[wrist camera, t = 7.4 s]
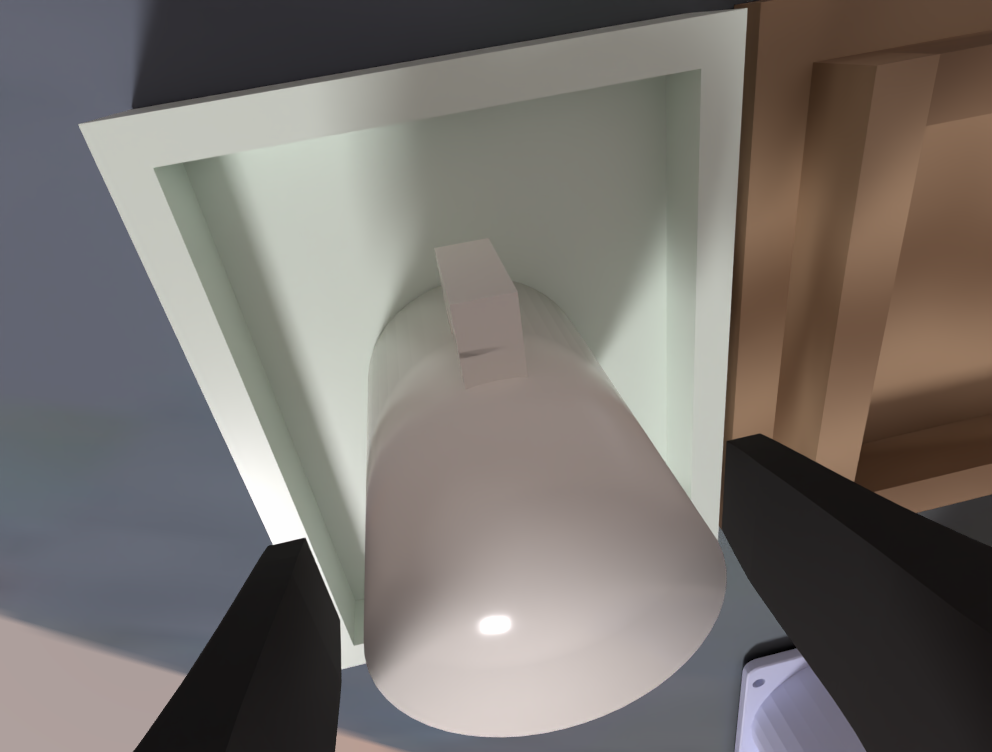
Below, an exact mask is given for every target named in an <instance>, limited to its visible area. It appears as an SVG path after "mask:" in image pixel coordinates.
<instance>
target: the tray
mask: <svg viewBox="0 0 992 752" xmlns="http://www.w3.org/2000/svg"><path fill="white" fill-rule="evenodd" d="M747 9H748V8H741V9H729V10H718V11H706V12H694V13H685V14H679V15H673V16H668V17H662V18H656V19H650V20H645V21H639V22H633V23H627V24H622V25H616V26H610V27H604V28H599V29H593V30H587V31H581V32H575V33H570V34H564V35H558V36H552V37H547V38H541V39H535V40H529V41H524V42H518V43H512V44H506V45H500V46H495V47H489V48H483V49H477V50H472V51H466V52H460V53H454V54H449V55H443V56H437V57H431V58H425V59H420V60H414V61H408V62H402V63H397V64H391V65H385V66H379V67H374V68H368V69H362V70H356V71H350V72H345V73H339V74H333V75H327V76H322V77H316V78H310V79H304V80H299V81H293V82H287V83H281V84H276V85H270V86H264V87H258V88H252V89H247V90H241V91H235V92H229V93H224V94H218V95H212V96H206V97H201V98H195V99H189V100H183V101H177V102H172V103H166V104H160V105H154V106H149V107H143V108H137V109H131V110H127V111H124V112H120V113H117V114H113V115H110V116H106V117H103V118H99V119H96V120H92V121H89V122H85V123H82V124H78V125H79V127H80V129H81V132H82V134H83V136H84V138H85V140H86V142H87V145H88V147H89V149H90V151H91V153H92V155H93V157H94V160H95V162H96V164H97V166H98V168H99V170H100V173H101V175H102V177H103V179H104V181H105V183H106V185H107V188H108V190H109V192H110V194H111V196H112V198H113V201H114V203H115V205H116V207H117V209H118V211H119V213H120V216H121V218H122V220H123V222H124V224H125V226H126V229H127V231H128V233H129V235H130V237H131V239H132V241H133V244H134V246H135V248H136V250H137V252H138V254H139V257H140V259H141V261H142V263H143V265H144V267H145V269H146V272H147V274H148V276H149V278H150V280H151V282H152V285H153V287H154V289H155V291H156V293H157V295H158V297H159V300H160V302H161V304H162V306H163V308H164V310H165V312H166V315H167V317H168V319H169V321H170V323H171V325H172V328H173V330H174V332H175V334H176V336H177V338H178V340H179V343H180V345H181V347H182V349H183V351H184V353H185V356H186V358H187V360H188V362H189V364H190V366H191V368H192V371H193V373H194V375H195V377H196V379H197V381H198V384H199V386H200V388H201V390H202V392H203V394H204V396H205V399H206V401H207V403H208V405H209V407H210V409H211V412H212V414H213V416H214V418H215V420H216V422H217V424H218V427H219V429H220V431H221V433H222V435H223V437H224V440H225V442H226V444H227V446H228V448H229V450H230V452H231V455H232V457H233V459H234V461H235V463H236V465H237V468H238V470H239V472H240V474H241V476H242V478H243V480H244V483H245V485H246V487H247V489H248V491H249V493H250V496H251V498H252V500H253V502H254V504H255V506H256V508H257V511H258V513H259V515H260V517H261V519H262V521H263V524H264V526H265V528H266V530H267V532H268V534H269V536H270V539H271V541H272V543H273V545H275V544H279V543H283V542H288V541H292V540H296V539H301V538H306V540H307V542H308V545H309V547H310V549H311V552H312V554H313V557H314V559H315V561H316V564H317V566H318V568H319V571H320V573H321V576H322V578H323V580H324V583H325V585H326V588H327V590H328V592H329V595H330V597H331V599H332V602H333V604H334V607H335V609H336V611H337V614H338V616H339V618H340V628H341V669H345V668H349V667H353V666H357V665H361V664H365V663H366V660H365V655H364V640H363V639H364V580H365V521H366V462H367V403H368V372H369V364H370V360H371V356H372V353H373V350H374V348H375V345H376V343H377V341H378V339H379V337H380V335H381V334H382V332H383V330H384V329H385V327H386V326H387V325H388V323H389V322H390V321H391V320H392V318H393V317H394V316H395V315H396V314H397V313H398V312H399V311H400V310H401V309H402V308H404V307H405V306H406V305H407V304H408V303H410V302H411V301H413V300H414V299H415V298H417V297H418V296H420V295H422V294H424V293H426V292H427V291H429V290H431V289H433V288H436V287H439V286H441V281H440V276H439V271H438V266H437V260H436V255H435V250H434V248H437V247H443V246H448V245H454V244H459V243H464V242H470V241H475V240H481V239H486V238H489V240H490V242H491V243H492V245H493V247H494V249H495V251H496V253H497V254H498V256H499V258H500V260H501V262H502V264H503V265H504V267H505V269H506V271H507V273H508V275H509V277H510V278H511V280H512V281H515V282H518V283H522V284H524V285H527V286H529V287H531V288H534V289H536V290H537V291H539V292H541V293H543V294H544V295H546V296H547V297H549V298H550V299H551V300H552V301H554V302H555V303H556V304H557V305H558V306H559V307H560V308H561V309H562V310H563V311H564V312H565V313H566V315H567V316H568V318H569V319H570V321H571V322H572V324H573V325H574V327H575V328H576V330H577V331H578V333H579V334H580V336H581V337H582V339H583V340H584V342H585V343H586V345H587V346H588V348H589V349H590V351H591V352H592V354H593V355H594V357H595V358H596V360H597V361H598V363H599V364H600V366H601V367H602V369H603V370H604V372H605V373H606V375H607V376H608V377H609V379H610V380H611V382H612V383H613V385H614V386H615V388H616V389H617V391H618V392H619V394H620V395H621V397H622V398H623V400H624V401H625V403H626V404H627V406H628V407H629V409H630V410H631V412H632V413H633V415H634V416H635V418H636V419H637V421H638V422H639V424H640V425H641V427H642V428H643V430H644V431H645V433H646V434H647V436H648V437H649V439H650V440H651V442H652V443H653V445H654V446H655V448H656V449H657V451H658V452H659V454H660V455H661V457H662V458H663V460H664V461H665V463H666V464H667V466H668V467H669V469H670V470H671V472H672V473H673V475H674V476H675V478H676V479H677V480H678V482H679V483H680V485H681V486H682V488H683V489H684V491H685V492H686V494H687V495H688V497H689V498H690V500H691V501H692V503H693V504H694V506H695V507H696V509H697V510H698V512H699V513H700V515H701V516H702V518H703V519H704V521H705V522H706V524H707V525H708V527H709V528H710V530H711V531H712V533H713V534H714V536H715V537H716V539H717V540H718V527H719V509H720V491H721V473H722V456H723V438H724V420H725V402H726V384H727V366H728V348H729V331H730V313H731V295H732V277H733V259H734V241H735V223H736V206H737V188H738V170H739V152H740V134H741V116H742V98H743V81H744V63H745V45H746V27H747Z"/></svg>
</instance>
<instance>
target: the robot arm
mask: <svg viewBox="0 0 992 752" xmlns="http://www.w3.org/2000/svg"><path fill="white" fill-rule="evenodd" d="M722 531H723V533H724V534H725V536H726V538H727V540H728V542H729V544H730V546H731V548H732V550H733V552H734V554H735V556H736V558H737V559H738V561H739V563H740V565H741V567H742V568H743V570H744V572H745V574H746V575H747V577H748V579H749V581H750V582H751V584H752V585H753V587H754V588H755V590H756V591H757V593H758V594H759V595H760V597H761V598H762V600H763V601H764V603H765V604H766V605H767V607H768V608H769V610H770V611H771V613H772V614H773V615H774V617H775V618H776V620H777V621H778V623H779V624H780V625H781V627H782V628H783V630H784V631H785V632H786V634H787V635H788V637H789V638H790V639H791V641H792V642H793V644H794V645H795V646H796V649H792V650H788V651H784V652H780V653H776V654H773V655H769V656H765V657H761V658H757V659H754V660H751V661H750V662H748V663H747V664H746V665H745V666H744V668H743V673H742V683H741V693H740V703H739V713H738V723H737V733H736V743H735V752H992V547H990V546H987V545H985V544H983V543H980V542H978V541H976V540H973V539H971V538H969V537H967V536H965V535H962V534H960V533H958V532H956V531H954V530H952V529H949V528H947V527H945V526H943V525H941V524H938V523H936V522H934V521H932V520H930V519H927V518H925V517H923V516H921V515H919V514H917V513H915V512H913V511H911V510H909V509H907V508H905V507H902V506H900V505H898V504H896V503H894V502H892V501H890V500H888V499H886V498H884V497H882V496H880V495H878V494H876V493H874V492H872V491H871V490H869V489H867V488H865V487H863V486H861V485H859V484H857V483H855V482H853V481H851V480H849V479H847V478H845V477H843V476H842V475H840V474H838V473H836V472H834V471H832V470H830V469H828V468H826V467H825V466H823V465H821V464H819V463H817V462H815V461H813V460H811V459H810V458H808V457H806V456H804V455H802V454H800V453H798V452H796V451H794V450H793V449H791V448H789V447H787V446H785V445H783V444H781V443H779V442H777V441H775V440H773V439H771V438H769V437H767V436H765V435H763V434H761V433H759V434H755V435H750V436H746V437H742V438H737V439H733V440H729V441H726V458H725V476H724V493H723V511H722ZM340 693H341V628H340V618H339V616H338V614H337V611H336V609H335V607H334V604H333V602H332V599H331V597H330V595H329V592H328V590H327V588H326V585H325V583H324V580H323V578H322V576H321V573H320V571H319V568H318V566H317V564H316V561H315V559H314V557H313V554H312V552H311V549H310V547H309V545H308V542H307V540H306V538H301V539H296V540H292V541H288V542H283V543H279V544H275V545H270V546H268V547H267V548H266V550H265V551H264V552H263V554H262V556H261V557H260V559H259V560H258V562H257V564H256V565H255V567H254V569H253V570H252V572H251V574H250V575H249V577H248V579H247V580H246V582H245V583H244V585H243V587H242V588H241V590H240V592H239V593H238V595H237V597H236V598H235V600H234V602H233V603H232V605H231V607H230V608H229V610H228V611H227V613H226V615H225V616H224V618H223V620H222V621H221V623H220V624H219V626H218V628H217V629H216V631H215V632H214V634H213V635H212V637H211V639H210V640H209V642H208V643H207V645H206V646H205V648H204V650H203V651H202V653H201V654H200V656H199V657H198V659H197V660H196V662H195V664H194V665H193V667H192V668H191V670H190V671H189V673H188V674H187V676H186V677H185V679H184V680H183V682H182V684H181V685H180V686H179V688H178V689H177V691H176V692H175V693H174V695H173V696H172V698H171V699H170V701H169V702H168V704H167V705H166V706H165V708H164V709H163V711H162V712H161V713H160V715H159V716H158V718H157V719H156V721H155V722H154V723H153V725H152V726H151V728H150V729H149V731H148V732H147V733H146V735H145V736H144V738H143V739H142V740H141V742H140V743H139V745H138V746H137V747H136V749H135V750H134V751H133V752H335V745H336V736H337V725H338V715H339V704H340Z"/></svg>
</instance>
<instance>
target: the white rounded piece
mask: <svg viewBox="0 0 992 752" xmlns="http://www.w3.org/2000/svg"><path fill="white" fill-rule="evenodd" d="M434 250H435V255H436V260H437V266H438V271H439V276H440V281H441V286H439V287H436V288H433V289H431V290H429V291H427V292H426V293H424V294H422V295H420V296H418V297H417V298H415V299H414V300H413V301H411V302H410V303H408V304H407V305H406V306H405V307H404V308H402V309H401V310H400V311H399V312H398V313H397V314H396V315H395V316H394V317H393V318H392V320H391V321H390V322H389V323H388V325H387V326H386V327H385V329H384V330H383V332H382V334H381V335H380V337H379V339H378V341H377V343H376V345H375V348H374V350H373V353H372V356H371V360H370V364H369V372H368V403H367V462H366V521H365V580H364V639H363V640H364V655H365V660H366V663H367V667H368V670H369V673H370V675H371V677H372V679H373V681H374V683H375V685H376V686H377V688H378V689H379V690H380V691H381V693H382V694H383V695H384V696H385V698H386V699H387V700H389V701H390V702H391V703H392V704H393V705H394V706H395V707H397V708H398V709H399V710H401V711H402V712H404V713H405V714H407V715H408V716H410V717H412V718H413V719H416V720H418V721H420V722H422V723H424V724H427V725H429V726H432V727H435V728H438V729H441V730H445V731H448V732H453V733H458V734H463V735H471V736H481V737H515V736H527V735H534V734H541V733H547V732H552V731H556V730H561V729H565V728H569V727H572V726H575V725H579V724H582V723H586V722H588V721H591V720H594V719H596V718H599V717H602V716H604V715H607V714H609V713H611V712H613V711H615V710H617V709H620V708H622V707H624V706H626V705H628V704H629V703H631V702H633V701H635V700H637V699H638V698H640V697H642V696H643V695H645V694H646V693H648V692H650V691H651V690H653V689H654V688H656V687H657V686H659V685H660V684H661V683H662V682H664V681H665V680H666V679H667V678H669V677H670V676H671V675H673V674H674V673H675V672H676V671H677V670H678V669H679V668H680V667H681V666H682V665H683V664H684V663H686V662H687V661H688V659H689V658H690V657H691V656H692V655H693V654H694V653H695V652H696V650H697V649H698V648H699V647H700V646H701V644H702V643H703V641H704V640H705V638H706V637H707V636H708V634H709V633H710V631H711V629H712V627H713V625H714V623H715V621H716V620H717V618H718V615H719V612H720V610H721V607H722V604H723V601H724V596H725V590H726V565H725V560H724V555H723V552H722V550H721V547H720V545H719V543H718V540H717V539H716V537H715V536H714V534H713V533H712V531H711V530H710V528H709V527H708V525H707V524H706V522H705V521H704V519H703V518H702V516H701V515H700V513H699V512H698V510H697V509H696V507H695V506H694V504H693V503H692V501H691V500H690V498H689V497H688V495H687V494H686V492H685V491H684V489H683V488H682V486H681V485H680V483H679V482H678V480H677V479H676V478H675V476H674V475H673V473H672V472H671V470H670V469H669V467H668V466H667V464H666V463H665V461H664V460H663V458H662V457H661V455H660V454H659V452H658V451H657V449H656V448H655V446H654V445H653V443H652V442H651V440H650V439H649V437H648V436H647V434H646V433H645V431H644V430H643V428H642V427H641V425H640V424H639V422H638V421H637V419H636V418H635V416H634V415H633V413H632V412H631V410H630V409H629V407H628V406H627V404H626V403H625V401H624V400H623V398H622V397H621V395H620V394H619V392H618V391H617V389H616V388H615V386H614V385H613V383H612V382H611V380H610V379H609V377H608V376H607V375H606V373H605V372H604V370H603V369H602V367H601V366H600V364H599V363H598V361H597V360H596V358H595V357H594V355H593V354H592V352H591V351H590V349H589V348H588V346H587V345H586V343H585V342H584V340H583V339H582V337H581V336H580V334H579V333H578V331H577V330H576V328H575V327H574V325H573V324H572V322H571V321H570V319H569V318H568V316H567V315H566V313H565V312H564V311H563V310H562V309H561V308H560V307H559V306H558V305H557V304H556V303H555V302H554V301H552V300H551V299H550V298H549V297H547V296H546V295H544V294H543V293H541V292H539V291H537V290H536V289H534V288H531V287H529V286H527V285H524V284H522V283H518V282H515V281H512V280H511V278H510V277H509V275H508V273H507V271H506V269H505V267H504V265H503V264H502V262H501V260H500V258H499V256H498V254H497V253H496V251H495V249H494V247H493V245H492V243H491V242H490V240H489V238H486V239H481V240H475V241H470V242H464V243H459V244H454V245H448V246H443V247H437V248H434Z"/></svg>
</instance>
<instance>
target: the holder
mask: <svg viewBox="0 0 992 752" xmlns="http://www.w3.org/2000/svg"><path fill="white" fill-rule="evenodd" d="M741 8H748V9H747V27H746V45H745V63H744V81H743V98H742V116H741V134H740V152H739V170H738V188H737V206H736V223H735V241H734V259H733V277H732V295H731V313H730V331H729V348H728V366H727V384H726V402H725V420H724V438H723V456H722V473H721V491H720V509H719V526H720V528H721V529H722V511H723V493H724V476H725V458H726V441H729V440H733V439H737V438H742V437H746V436H750V435H755V434H759V433H761V434H763V435H765V436H767V437H769V438H771V439H773V440H775V441H777V442H779V443H781V444H783V445H785V446H787V447H789V448H791V449H793V450H794V451H796V452H798V453H800V454H802V455H804V456H806V457H808V458H810V459H811V460H813V461H815V462H817V463H819V464H821V465H823V466H825V467H826V468H828V469H830V470H832V471H834V472H836V473H838V474H840V475H842V476H843V477H845V478H847V479H849V480H851V481H853V482H855V483H857V484H859V485H861V486H863V487H865V488H867V489H869V490H871V491H872V492H874V493H876V494H878V495H880V496H882V497H884V498H886V499H888V500H890V501H892V502H894V503H896V504H898V505H900V506H902V507H905V508H907V509H909V510H911V511H913V512H915V513H918V512H922V511H926V510H930V509H934V508H938V507H942V506H946V505H950V504H954V503H958V502H962V501H967V500H971V499H975V498H979V497H983V496H987V495H991V494H992V0H760V1H754V2H748V3H743V4H737V5H734V9H741Z"/></svg>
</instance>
